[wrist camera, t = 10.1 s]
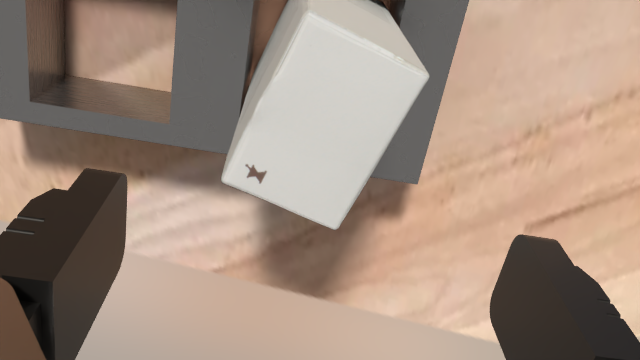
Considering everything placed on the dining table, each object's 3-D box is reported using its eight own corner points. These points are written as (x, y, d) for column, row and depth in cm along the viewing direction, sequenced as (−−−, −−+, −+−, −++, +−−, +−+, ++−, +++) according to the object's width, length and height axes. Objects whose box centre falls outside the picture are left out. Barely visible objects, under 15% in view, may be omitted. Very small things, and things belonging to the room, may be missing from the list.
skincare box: (328, 111, 30) (335, 238, 19) (251, 73, 29) (213, 184, 18) (390, 1, 28) (436, 76, 17) (307, -44, 27) (301, 5, 16)
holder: (14, 85, 29) (-29, 113, 26) (1, -140, 25) (-52, -144, 21) (405, 149, 31) (417, 184, 27) (458, -52, 27) (480, -42, 23)
